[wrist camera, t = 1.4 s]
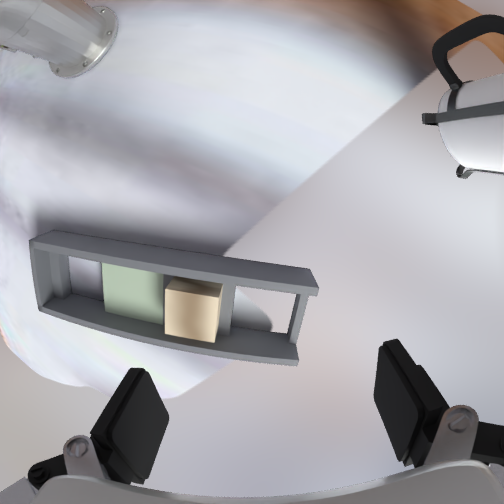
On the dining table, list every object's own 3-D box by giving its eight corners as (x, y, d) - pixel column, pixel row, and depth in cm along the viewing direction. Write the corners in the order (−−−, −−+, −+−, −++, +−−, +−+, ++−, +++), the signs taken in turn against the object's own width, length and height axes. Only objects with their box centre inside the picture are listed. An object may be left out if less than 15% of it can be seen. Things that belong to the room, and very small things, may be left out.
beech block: (173, 317, 35) (164, 333, 31) (175, 275, 33) (165, 288, 30) (218, 325, 35) (214, 342, 31) (223, 283, 34) (218, 297, 30)
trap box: (59, 294, 38) (38, 310, 32) (53, 230, 35) (28, 240, 29) (292, 340, 39) (297, 366, 33) (309, 268, 35) (319, 288, 30)
